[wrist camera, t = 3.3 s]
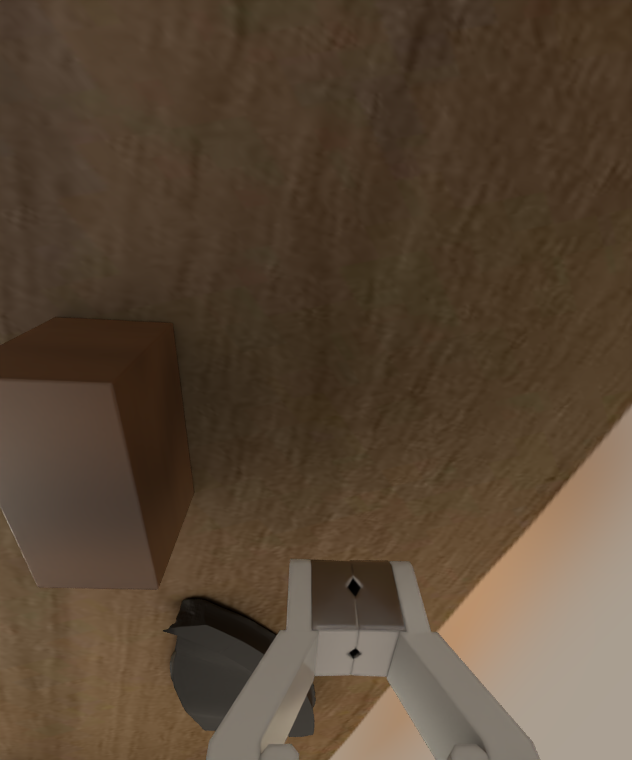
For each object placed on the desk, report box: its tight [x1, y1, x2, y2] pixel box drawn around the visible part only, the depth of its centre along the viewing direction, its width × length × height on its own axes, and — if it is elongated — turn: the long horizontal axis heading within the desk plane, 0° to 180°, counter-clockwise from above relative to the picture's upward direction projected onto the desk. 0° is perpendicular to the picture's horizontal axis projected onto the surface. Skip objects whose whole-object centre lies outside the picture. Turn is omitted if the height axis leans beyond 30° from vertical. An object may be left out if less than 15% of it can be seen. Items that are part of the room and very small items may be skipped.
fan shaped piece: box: [163, 599, 316, 737], centre depth 22 cm, size 8×14×2 cm, turn 6°
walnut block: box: [0, 317, 194, 590], centre depth 13 cm, size 8×4×4 cm, turn 177°
